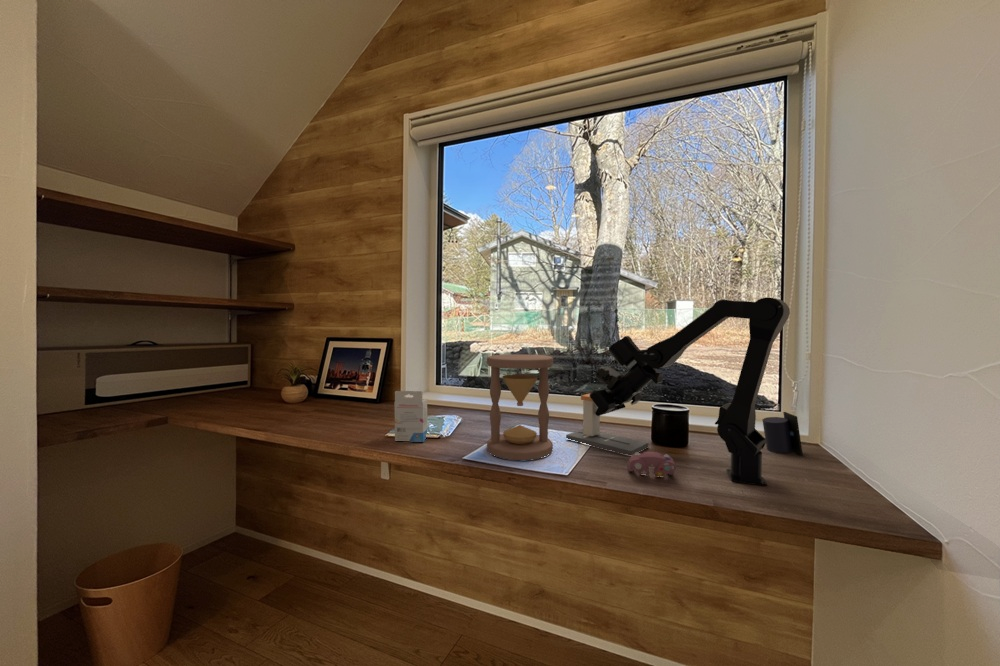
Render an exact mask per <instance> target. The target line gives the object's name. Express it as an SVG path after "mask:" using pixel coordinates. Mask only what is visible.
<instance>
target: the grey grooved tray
mask: <svg viewBox="0 0 1000 666" xmlns="http://www.w3.org/2000/svg"><path fill="white" fill-rule="evenodd" d="M565 436H566V437H565V439H566V438H568V439H571V440H575V441H578V442H582V443H586V444H589V445H592V446H595V447H599V448H603V449H607V450H612V451H615V452H619V453H623V454H628V455H633V454H635V453H636V452H639V451H641V450H643V449H645V448H647V447H649V446H650V445H649V443H650V442H647V441H643V440H638V439H636V438H635V439H634V438H629V437H625V436H620V435H616V434H612V433H607V432H603V431H600V434H597V435H594V436H589V435H585V434H583V428H582V429H579V430H576V431H573V432H571V433H568V434H565ZM595 447H594V448H595ZM599 448H598V449H599Z"/></svg>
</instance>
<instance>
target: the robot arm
mask: <svg viewBox="0 0 1000 666" xmlns="http://www.w3.org/2000/svg"><path fill="white" fill-rule="evenodd" d="M790 312H791V310H790V306H789V305H788V304H787V303H786V302H785V301H784V300H781V299H779V298H774V297H763V298H762V297H761V298H759V299H758V300H756V301H747V300H746V301H745V300H743V301H741V300H731V299H724V298H722V299H719V300H718V299H717V301H715V302H714V303H713V305H712V306H710V307H709V308H708V309H707V310H705V311H704V312H702V313H701V314H700V315H698V317H696V318H695V319H692V321H690V322H689V323H687V325H685V326H684V327H683V328H681V329H680V330H679V331H677V332H676V333H675V334H674V335H671V336H669V337H667V338H665V339H662V340H660V341H659V342H657V343H655V344H653V345H650V346H649V347H648V348H646V349H640V348H639V347H638V345H637V344H636V343H635V342H634V341H633V339H632V338H631V337H630V336H629V335H626V336H625V335H624V336H623V337H622V338H621V339H619V340H617V341H615V342H613V343H612V344H611V345H610V346H609V348H608V350H607V351H608V353H609V354H610V355H611V357H613V358H614V360H615V361H616V362H617V363H618V364H619V366H620V367H621V368H624V367H626V368H629V369H628V370H627V371H626V372H625V373H624V374H621V373H620V372H618V371H617V370H615V369H614V368H612V367H610V366H600V367H599V368H598V369H597V370H596V371H595V378H596V379H597V380H600V381H602V382H603V383H604V384H606V388H607V390H608V391H607V390H606V389H605V388H596V389H593V390H592V391H591V392H590V393H589V394H590V397H591V399H592V400H593V401H594V403H595V404H596V405H597V407H598V409H597V411H596V413H595V414H596V415H597V416H600V417H601V416H602V415H606V414H609V413H612V412H615V411H618V410H622V409H625V408H626V405H625V404H627V403H630V404H631V406H633V405H636V404H637V403H639V402H640V401H641V394H640V393H642V392H643V391H644V390H643V389H644V388H645V387H646V386H647V385H648V384H649V383H651V381H652V382H653V383H654V384H659V383H663V382H664V379H663V372H662V371H658V370H657V369H664V368H667V367H671V366H672V365H674V364H675V363H676V362H677V360H678V359H680V358H681V357H682V355H683V354H684V352H685V351H686V349H688V348H689V347H690V346H692V344H694V343H696V342H697V341H698V340H700V339H701V338H703V337H704V336H705V335H707V334H708V333H710V331H712V330H713V329H715V328H716V327H718V326H719V325H721V323H724V321H726V320H727V319H729V318H736V319H748V320H749V321H748V327H749V342H748V346H747V349H746V352H745V355H744V360H743V363H742V365H741V366H742V367H741V370H740V374H739V376H738V380H737V383H736V387H735V391H734V395H733V398H732V401H731V402H730V403H729V402H728V403H725V404H723V405H722V406H720V407H719V410H718V418H717V420H716V421H715V422H714V425H717V427H716V431H717V434H718V435H719V438H720V439H721V440H722V441H723V442H724V444H725V446H726V448H727V451H728V453H730V468H726V469H725V470H726V474H727V475H728V478H729V479H730V481H731V482H734V483H741V484H749V485H755V486H756V485H758V486H766V487H767V486H768V482H767V481H766V479H765V478H764V477H763V476H762V475H763V473H762V472H763V471H762V470H763V452H762V451H761V450H763V449H764V448H765V446H766V442H767V440H766V439H765V436H763V435H762V434H761V433H760V432H759V431H758V430H757V429H756V419H757V415H756V414H757V413H756V401H757V398H758V395H759V391H760V388H761V385H762V381H763V378H764V375H765V372H766V367H767V366H768V361H769V358H770V355H771V351H772V348H773V344H774V342H775V341H776V339H777V338H778V336H779V334H780V333H781V331H782V330H783V329H784V326H785V324H786V323H787V321H788V319H789V317H790ZM630 367H631V368H630Z"/></svg>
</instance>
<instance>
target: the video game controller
mask: <svg viewBox="0 0 1000 666" xmlns="http://www.w3.org/2000/svg"><path fill="white" fill-rule="evenodd" d="M649 467H650V468H652V467H653V471H652V472H653V476H654V475H655V476H659V477H660V476H664V477H665V476H666V475H668V474H669V476H672V475H673V474H674V473H675V471H676V467H677V466H676V462H675V461H674V459H673V458H672V457H671V456H670V455H669V454H667V453H665V454H661V453H660V452H656V451H643V452H640V453H639V452H636V453H635V454H633V455H632V456H631V457H629V459H628V461H627V470H628V472H630V471H632V472H634V471H636V472H637V473H638V474H646V475H648V476H649V475H650V468H649ZM655 476H654V477H655Z"/></svg>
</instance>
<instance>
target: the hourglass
mask: <svg viewBox="0 0 1000 666" xmlns="http://www.w3.org/2000/svg"><path fill="white" fill-rule="evenodd" d="M486 364H487V366H488V367H490V385H489V395H490V399H491V403H492V404H491V408H490V412H489V421H490V438H489V439H488V440H487V441H486V448H487V449H486V450H487V452H489V453H488V454H490V453H491V454H492V455H495V456H497V457H500V458H504V459H503V460H505V459H510V460H509V461H511V460H530V461H532V460H531V459H538V458H541V457H544V456H547V455H548V454H550V453H551V452H553V450H552V449H554V443H553V441H552V440H551V439H550V438H548V437H549V421H550V411H549V407H548V404H547V403H548V398H549V394H550V383H549V368H550V367H552V366H553V365H554V357H552V356H549V355H544V354H543V355H542V354H528V353H527V354H525V353H524V354H522V353H521V354H519V353H517V354H514V353H513V354H511V353H510V354H495V355H489V356H487V357H486ZM500 369H508V370H509V369H512V370H513V369H514V370H518V369H519V370H530V369H531V370H533V369H535V370H536V369H539V377H538V375H534V374H523V373H522V374H517V373H516V374H512V373H511V374H506V375H502V376H501V377H502V379H503V382H504V383H505V385H506V387H507V388H508V390H509V391H510V393H511V394H512V396H513V397H514V398H515V400H516V402H517V403H516V406H517V407H523V406H524V400H525V399H526V398H527V396H528V395H529V394H530V391H531V390H532V389H533V387H534V385H535V384H536V383H537V380H538V378H539V380H538V381H539V382H538V385H537V393H538V396H539V397H538V398H539V401H540V405H539V408H538V413H537V418H538V427H539V429H538V430H539V431H538V432H539V433H538V432H536V431H535V430H534V429H531V428H529V427H526V426H524V425H521V424H519V425H517V426H514V427H511V428H508V429H506V430H503V433H502V434H500V433H501V432H500V428H501V427H500V426H501V420H502V419H501V418H502V413H501V409H500V406H499V405H500V404H499V402H500V398H501V394H502V388H501V387H502V385H501V381H500V378H501V377H500V375H501V373H500ZM537 433H538V434H537ZM491 454H490V455H491ZM551 454H552V453H551ZM551 454H550V455H551ZM548 456H549V455H548ZM548 456H547V457H548ZM497 457H496V458H497ZM500 458H499V459H500ZM541 459H542V458H541ZM538 460H539V459H538Z"/></svg>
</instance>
